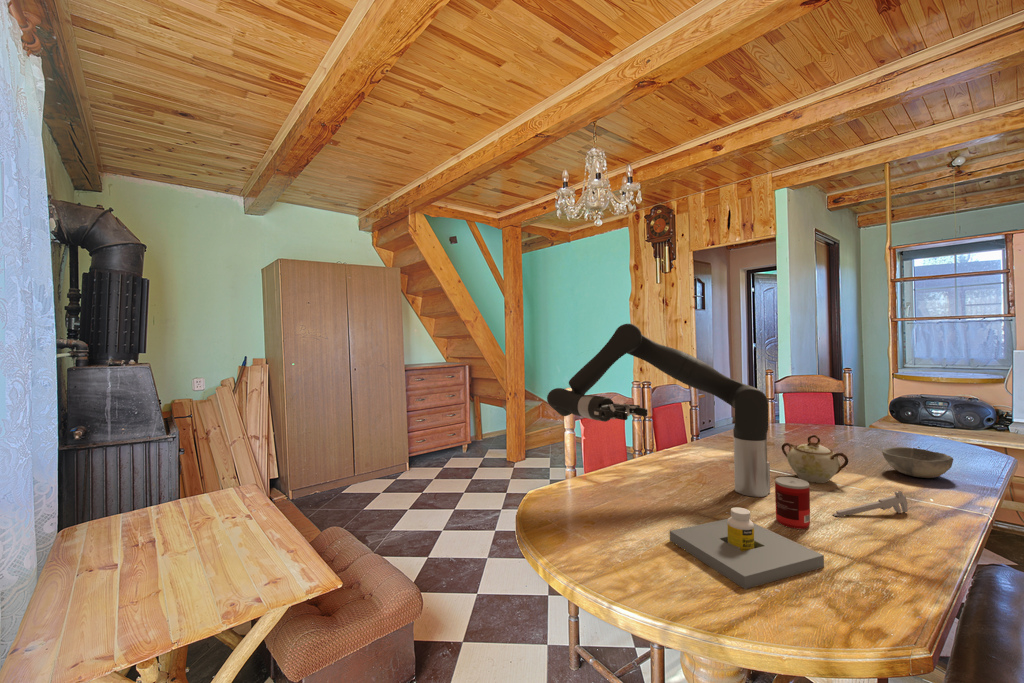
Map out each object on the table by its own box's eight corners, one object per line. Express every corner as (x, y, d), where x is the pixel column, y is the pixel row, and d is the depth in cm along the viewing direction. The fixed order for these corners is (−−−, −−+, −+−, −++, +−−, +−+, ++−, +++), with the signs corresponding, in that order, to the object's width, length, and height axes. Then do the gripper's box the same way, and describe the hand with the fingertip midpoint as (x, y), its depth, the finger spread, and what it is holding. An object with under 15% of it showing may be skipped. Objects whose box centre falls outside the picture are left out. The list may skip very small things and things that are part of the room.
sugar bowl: (857, 481, 144) (856, 436, 144) (839, 492, 136) (838, 443, 136) (791, 468, 161) (790, 427, 160) (772, 476, 152) (771, 433, 152)
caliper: (904, 512, 120) (903, 490, 120) (907, 514, 119) (907, 491, 119) (831, 516, 119) (831, 493, 119) (835, 517, 118) (834, 494, 118)
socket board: (739, 525, 114) (739, 516, 114) (824, 566, 93) (823, 555, 93) (669, 541, 107) (669, 530, 107) (745, 589, 86) (744, 576, 86)
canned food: (805, 518, 117) (804, 477, 117) (814, 531, 110) (813, 487, 110) (772, 515, 120) (771, 475, 120) (779, 527, 112) (779, 485, 112)
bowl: (880, 465, 161) (879, 443, 161) (946, 472, 151) (946, 449, 151) (885, 478, 147) (885, 454, 147) (959, 487, 137) (958, 462, 137)
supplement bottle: (744, 561, 96) (743, 517, 96) (722, 551, 101) (721, 508, 101) (759, 554, 99) (758, 511, 99) (737, 545, 104) (736, 504, 104)
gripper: (578, 398, 133) (619, 403, 120) (611, 393, 141) (652, 398, 128) (579, 422, 133) (620, 431, 120) (611, 416, 141) (653, 424, 128)
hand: (637, 414), depth 124 cm, fingers open, 8 cm apart
